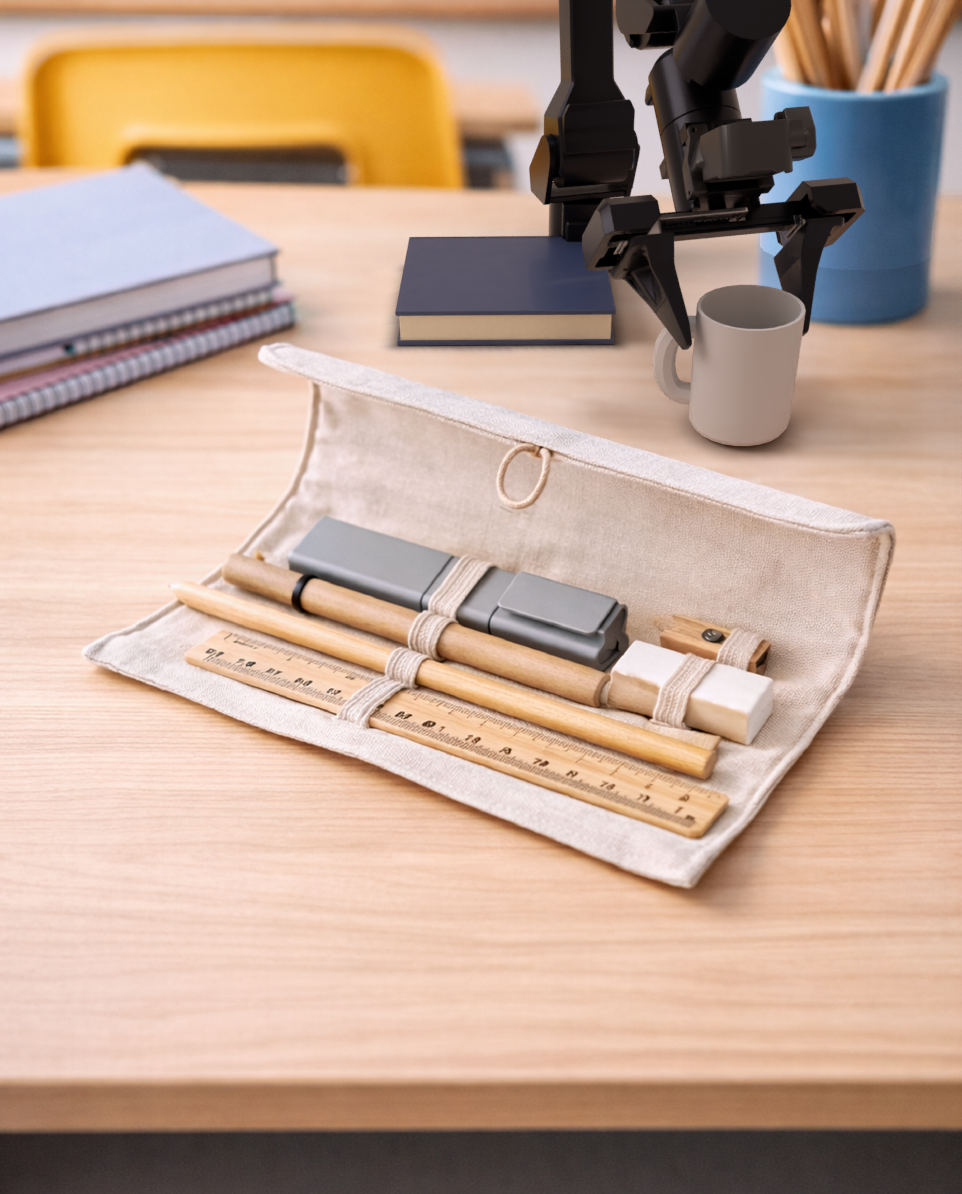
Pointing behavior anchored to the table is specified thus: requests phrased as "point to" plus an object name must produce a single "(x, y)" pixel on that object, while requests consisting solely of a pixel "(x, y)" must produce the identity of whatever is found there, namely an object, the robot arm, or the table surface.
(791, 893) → the table surface
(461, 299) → the book
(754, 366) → the cup
